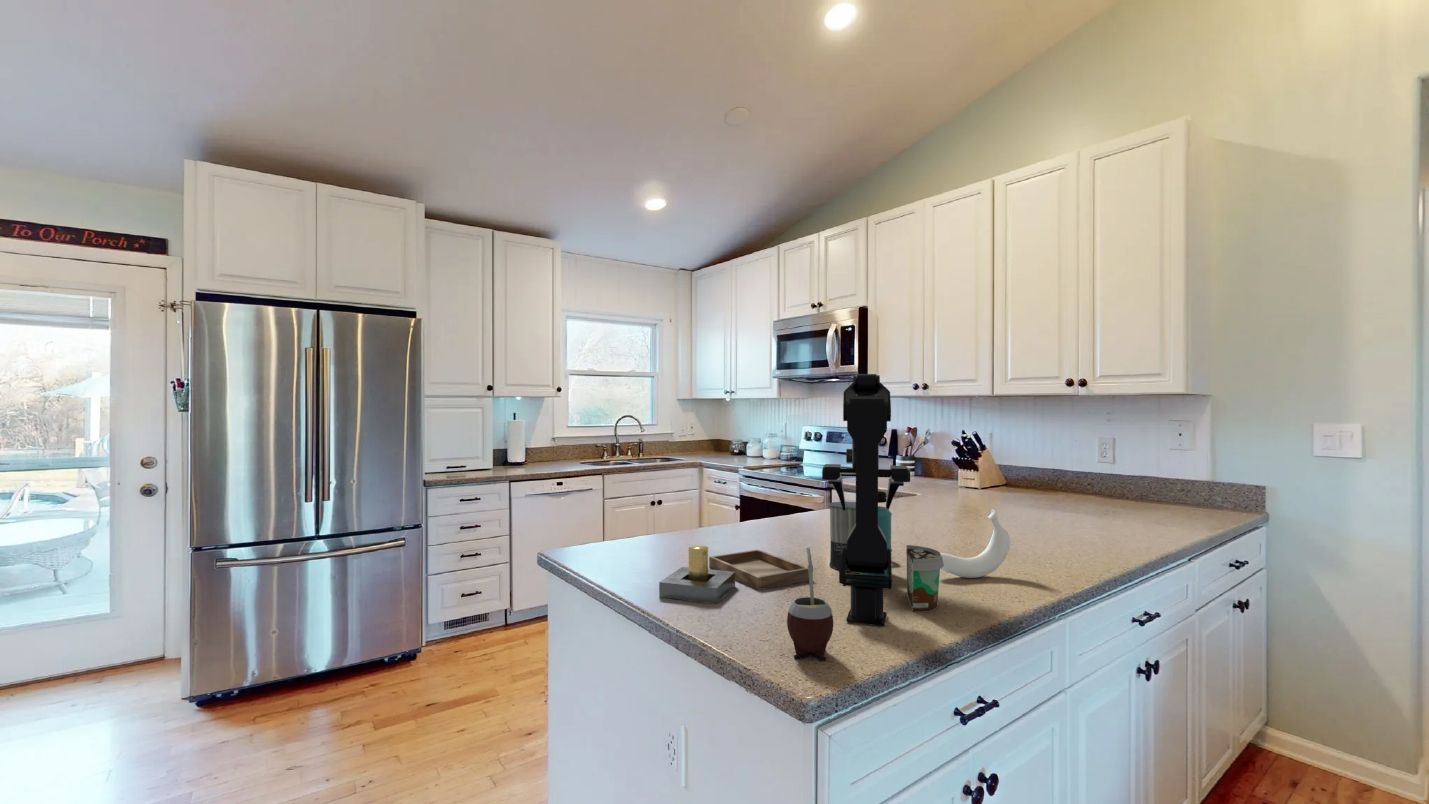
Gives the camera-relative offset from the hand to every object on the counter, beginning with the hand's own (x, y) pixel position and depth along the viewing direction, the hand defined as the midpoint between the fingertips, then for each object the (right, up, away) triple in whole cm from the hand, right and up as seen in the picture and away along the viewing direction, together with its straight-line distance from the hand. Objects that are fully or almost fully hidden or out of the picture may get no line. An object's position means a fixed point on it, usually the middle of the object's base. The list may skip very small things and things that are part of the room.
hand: (865, 511), depth 136 cm
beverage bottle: (0, -15, -8) cm, 16 cm away
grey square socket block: (-37, -14, -11) cm, 41 cm away
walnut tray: (-24, -14, +2) cm, 28 cm away
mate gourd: (-19, -15, -42) cm, 48 cm away
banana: (+23, -15, -1) cm, 27 cm away
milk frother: (+1, -15, +10) cm, 18 cm away
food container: (+7, -15, -19) cm, 25 cm away
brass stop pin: (-37, -14, -11) cm, 41 cm away
